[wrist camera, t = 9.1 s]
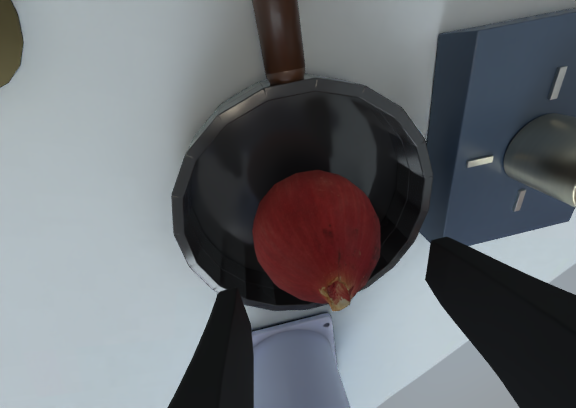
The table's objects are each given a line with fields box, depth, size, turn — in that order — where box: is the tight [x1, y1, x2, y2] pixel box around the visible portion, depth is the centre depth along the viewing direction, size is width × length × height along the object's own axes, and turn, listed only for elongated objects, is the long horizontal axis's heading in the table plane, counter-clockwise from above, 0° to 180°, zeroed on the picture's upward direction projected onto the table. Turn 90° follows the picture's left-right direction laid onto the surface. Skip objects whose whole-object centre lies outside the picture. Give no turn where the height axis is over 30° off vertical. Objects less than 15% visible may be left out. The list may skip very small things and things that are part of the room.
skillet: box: [171, 73, 433, 311], centre depth 15 cm, size 13×13×3 cm
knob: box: [504, 113, 576, 208], centre depth 13 cm, size 4×4×4 cm
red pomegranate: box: [252, 170, 380, 311], centre depth 12 cm, size 6×6×8 cm
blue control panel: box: [419, 8, 576, 246], centre depth 15 cm, size 12×9×3 cm
